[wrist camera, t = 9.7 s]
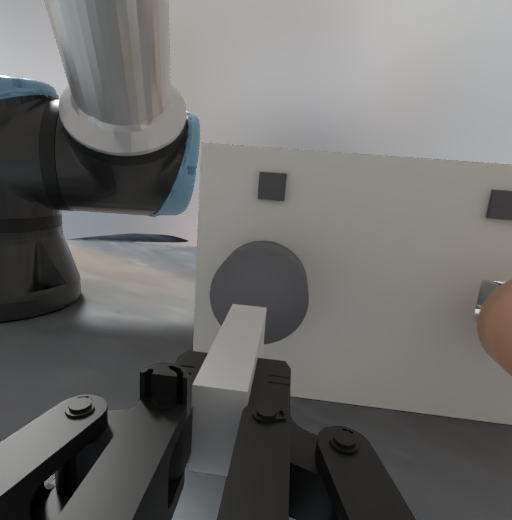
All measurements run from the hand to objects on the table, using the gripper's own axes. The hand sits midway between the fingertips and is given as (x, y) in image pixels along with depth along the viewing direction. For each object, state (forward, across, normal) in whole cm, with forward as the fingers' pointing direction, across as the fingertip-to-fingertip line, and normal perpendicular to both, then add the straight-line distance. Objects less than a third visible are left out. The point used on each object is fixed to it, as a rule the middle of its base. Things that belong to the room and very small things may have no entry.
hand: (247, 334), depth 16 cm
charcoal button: (+11, 0, -3) cm, 11 cm away
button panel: (+14, +8, -9) cm, 18 cm away
